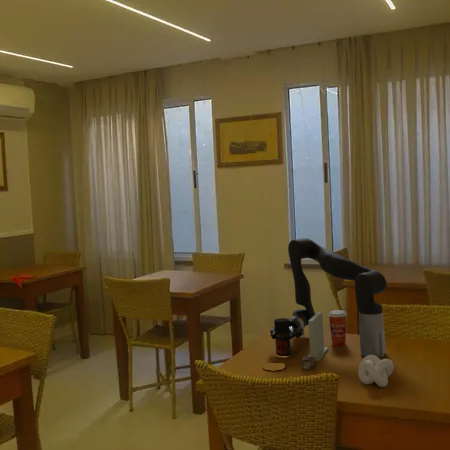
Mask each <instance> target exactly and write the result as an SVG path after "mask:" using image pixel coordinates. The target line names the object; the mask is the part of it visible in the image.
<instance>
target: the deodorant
mask: <svg viewBox="0 0 450 450" xmlns="http://www.w3.org/2000/svg"><path fill="white" fill-rule="evenodd" d="M273 322H274V327H275V339H274V340H275V355H276V354H277V355H279V356H290V355H291V356H292V354H291V352H292V351H291V349H292V348H291V339H290V340H287V335H288V334H289V333H290V331H289V318H286V317H285V318H284V317H279V318H275V319H274V320H273Z"/></svg>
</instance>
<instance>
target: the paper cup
mask: <svg viewBox="0 0 450 450" xmlns="http://www.w3.org/2000/svg"><path fill="white" fill-rule="evenodd" d="M347 315H348V314H347V312H346V311H345V310H341V309H340V310H339V309H337V310H331V311H329V313H328V315H327V316H328V318H329V319H328V320H329V327H330V329H329V330H330V337H331V344H332V345H333V346H334V345H335V347H343V346H345V345H346V339H347V337H346V336H347V332H346V331H347V329H346V327H347Z"/></svg>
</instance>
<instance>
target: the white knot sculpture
mask: <svg viewBox="0 0 450 450" xmlns="http://www.w3.org/2000/svg"><path fill="white" fill-rule="evenodd" d="M394 365H395V364H394V362H393V361H392V360H391V359H390V358H383V359H381V358H380V357H377V356H375V355H368V356H366V357H363V358H362V360H361V361H360V363H359V366H358V373H357V374H358V378H359V380H360V382H361V383H363V384H364V385H368V386H369V385H371V384H374V383H375V384H376V385H377V386H378V387H380V388H385V387H387V386H388V385H389V384H388V383H389V380H388V378H389V377H390V376H391V375H392V374H393V372H394V369H395V366H394Z"/></svg>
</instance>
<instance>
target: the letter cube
mask: <svg viewBox="0 0 450 450" xmlns="http://www.w3.org/2000/svg"><path fill="white" fill-rule="evenodd" d="M315 368H316V361H315V357H307V356H303V358H302V359H301V370H302V369H306V370H305V371H310V370H312V371H314V369H315Z"/></svg>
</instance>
